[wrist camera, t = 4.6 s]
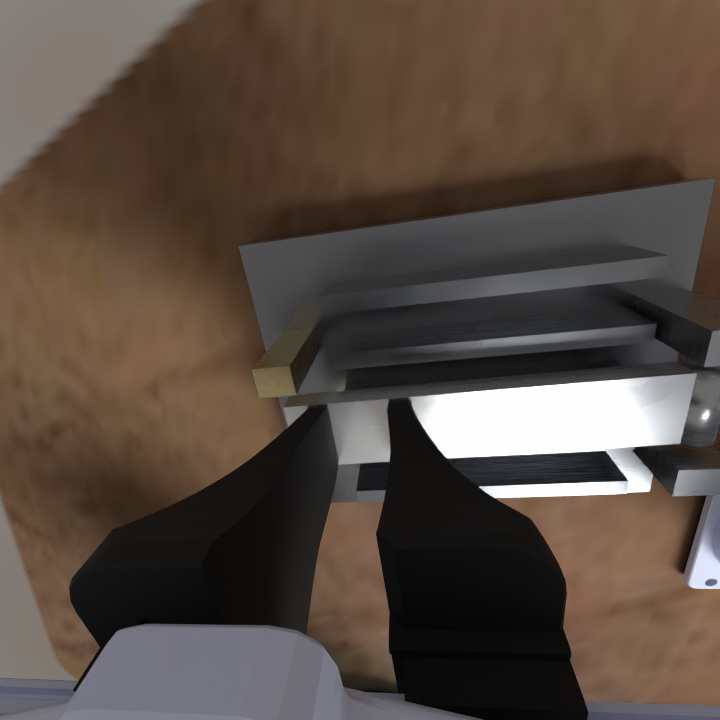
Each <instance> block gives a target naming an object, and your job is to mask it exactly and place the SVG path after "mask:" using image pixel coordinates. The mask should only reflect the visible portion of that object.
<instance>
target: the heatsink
mask: <svg viewBox="0 0 720 720" xmlns="http://www.w3.org/2000/svg"><path fill="white" fill-rule="evenodd" d="M715 179H716V178H703V179H684V180H677V181H671V182H664V183H657V184H650V185H643V186H636V187H629V188H622V189H615V190H608V191H601V192H594V193H587V194H580V195H573V196H566V197H559V198H552V199H545V200H538V201H531V202H524V203H518V204H511V205H504V206H497V207H490V208H483V209H476V210H469V211H462V212H455V213H448V214H441V215H434V216H427V217H420V218H413V219H406V220H399V221H392V222H385V223H378V224H372V225H365V226H358V227H351V228H344V229H337V230H330V231H323V232H316V233H309V234H302V235H295V236H288V237H281V238H274V239H267V240H260V241H253V242H249V243H246V244H243V245H240V246H238V247H239V251H240V255H241V259H242V262H243V266H244V270H245V274H246V278H247V281H248V285H249V289H250V293H251V297H252V301H253V304H254V308H255V312H256V316H257V320H258V323H259V327H260V331H261V335H262V339H263V342H264V346H265V350H266V353H265V354H264V355H263V356H262V357H261V359H260V360H259V361H258V362H257V363H256V365H255V366H254V367H253V368H252V369H251V370H252V373H253V377H254V380H255V384H256V387H257V391H258V394H259V398H268V397H278V400H279V403H280V407H281V411H282V415H283V419H284V423H285V426H286V429H287V428H288V424H287V420H286V416H285V412H284V408H283V407H284V405H285V403H286V401H287V399H288V397H289V396H294V395H298V394H309V393H321V392H332V391H344V390H355V389H367V388H378V387H390V386H401V385H413V384H424V383H435V382H447V381H458V380H470V379H481V378H493V377H504V376H516V375H527V374H539V373H550V372H562V371H573V370H585V369H596V368H607V367H619V366H630V365H642V364H653V363H665V362H676V361H677V360H678V355H679V353H681V354H682V355H684V356H686V357H688V358H689V359H691V360H693V361H694V362H696V363H698V364H699V365H701V366H703V367H712V366H720V301H718V300H716V299H713V298H710V297H707V296H704V295H701V294H699V293H696V292H693V291H692V288H693V283H694V279H695V274H696V269H697V264H698V260H699V255H700V250H701V245H702V241H703V236H704V231H705V226H706V222H707V217H708V212H709V207H710V203H711V198H712V193H713V188H714V184H715ZM447 459H448V460H449V461H450V462H451V463H452V464H453V465H454V466H455V467H456V468H457V469H458V470H459V471H460V472H461V473H462V474H463V475H465V476H466V477H467V478H468V479H469V480H471V481H472V482H473V483H474V484H476V485H477V486H478V487H480V488H481V489H482V490H483V491H485V492H486V493H488V494H489V495H491V496H492V497H494V498H514V497H544V496H574V495H604V494H627V492H650V488H651V483H652V479H653V475H654V476H655V477H656V478H657V479H658V481H659V482H660V483H661V484H662V485H663V486H664V487H665V488H666V490H667V491H668V492H669V493H670V494H671V495H672V496H702V495H720V451H719V450H718V449H716V448H715V447H714V446H713V445H711V446H707V447H694V446H688V445H684V444H681V443H680V444H671V445H654V446H638V447H621V448H605V449H588V450H572V451H555V452H539V453H523V454H506V455H490V456H473V457H457V458H447ZM388 471H389V462H375V463H358V464H342V465H338V471H337V478H336V484H335V488H334V492H333V496H332V500H331V502H358V503H363V502H384V497H385V492H386V486H387V478H388Z"/></svg>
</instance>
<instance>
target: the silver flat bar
mask: <svg viewBox="0 0 720 720" xmlns="http://www.w3.org/2000/svg"><path fill="white" fill-rule="evenodd" d="M403 400H409V401H410V402H411V403H412V406H413V409H414V412H415V414H416V416H417V418H418V420H419V421H420V423H421V425H422V426H423V428H424V429H425V431H426V432H427V434H428V435H429V437H430V438H431V440H432V441H433V442H434V444H435V445H436V446H437V447H438V449H439V450H440V451H441V452H442V453H443V454H444V456H445V457H446V458H457V457H473V456H490V455H506V454H523V453H539V452H555V451H572V450H588V449H605V448H621V447H638V446H654V445H671V444H680V443H681V444H684V445H688V446H694V447H707V446H711V445H713V444H714V443H715V440H716V436H717V432H718V429H719V425H720V366H712V367H703V366H701V365H699V364H698V363H696V362H694V361H693V360H691V359H689V358H684V359H681V360H680V361H679V362H678V361H676V362H665V363H653V364H642V365H630V366H619V367H607V368H596V369H585V370H573V371H562V372H550V373H539V374H527V375H516V376H504V377H493V378H481V379H470V380H458V381H447V382H435V383H424V384H413V385H401V386H390V387H378V388H367V389H355V390H344V391H332V392H321V393H309V394H298V395H294V396H289V397H288V399H287V401H286V403H285V405H284V407H283V408H284V412H285V416H286V420H287V424H288V427H289V426H290V425H291V424H292V423H293V422H294V421H295V420H296V419H297V418H298V417H300V416H301V415H302V414H303V413H304V412H305V411H306V410H307V409H308V408H314V407H327V406H328V411H329V416H330V421H331V425H332V430H333V435H334V440H335V445H336V450H337V455H338V460H339V462H338V465H342V464H358V463H375V462H389V461H390V436H389V426H388V415H387V407H388V402H391V401H403Z"/></svg>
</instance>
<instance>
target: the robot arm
mask: <svg viewBox="0 0 720 720" xmlns="http://www.w3.org/2000/svg"><path fill="white" fill-rule="evenodd" d="M387 415H388V426H389V436H390V461H389V471H388V478H387V486H386V492H385V497H384V503H383V508H382V513H381V517H380V521H379V525H378V529H377V532H376V536H377V542H378V548H379V554H380V559H381V565H382V571H383V577H384V583H385V588H386V594H387V600H388V606H389V612H390V617H389V652H390V654H392V660H393V665H394V671H395V676H396V682H397V687H398V693H399V694H398V693H373V692H363V691H359V690H354V689H350V688H345V687H343V684H342V680H341V677H340V673H339V670H338V667H337V665H336V664H335V662H334V661H333V659H332V658H331V657H330V655H329V654H328V652H327V651H326V650H325V648H324V647H323V646H322V644H321V643H319V642H318V641H316V640H314V639H312V638H310V637H308V636H307V635H306V632H307V623H308V616H309V608H310V601H311V594H312V587H313V580H314V574H315V567H316V561H317V555H318V550H319V546H320V541H321V538H322V534H323V530H324V526H325V522H326V519H327V515H328V511H329V507H330V504H331V500H332V496H333V492H334V488H335V484H336V478H337V471H338V462H339V460H338V455H337V450H336V445H335V440H334V435H333V430H332V425H331V421H330V416H329V411H328V406H327V407H314V408H308V409H307V410H306V411H305V412H304V413H303V414H302V415H301V416H300V417H298V418H297V419H296V420H295V421H294V422H293V423H292V424H291V425H290V426H289V427H288V428H287V429H286V430H284V431H283V432H282V433H281V434H280V435H279V436H278V437H277V438H276V439H274V440H273V441H272V442H271V443H270V444H268V445H267V446H266V447H265V448H264V449H262V450H261V451H260V452H259V453H257V454H256V455H255V456H254V457H252V458H251V459H250V460H248V461H247V462H246V463H244V464H243V465H241V466H240V467H238V468H237V469H236V470H234V471H233V472H231V473H230V474H228V475H227V476H225V477H223V478H222V479H220V480H218V481H216V482H215V483H213V484H211V485H210V486H208V487H206V488H204V489H203V490H201V491H199V492H197V493H196V494H194V495H192V496H190V497H188V498H186V499H184V500H182V501H180V502H178V503H176V504H173V505H171V506H169V507H167V508H165V509H163V510H161V511H158V512H156V513H154V514H151V515H149V516H146V517H144V518H141V519H139V520H136V521H134V522H131V523H129V524H126V525H124V526H121V527H118V528H116V529H113V530H112V531H111V532H110V533H109V535H108V536H107V537H106V538H105V539H104V541H103V542H102V543H101V544H100V545H99V547H98V548H97V549H96V550H95V551H94V553H93V554H92V555H91V556H90V557H89V558H88V560H87V561H86V562H85V563H84V564H83V566H82V567H81V568H80V569H79V570H78V572H77V573H76V574H75V575H74V576H73V578H72V580H71V583H70V586H69V591H70V599H71V603H72V605H73V607H74V609H75V611H76V613H77V614H78V616H79V617H80V618H81V620H82V621H83V623H84V624H85V626H86V627H87V629H88V630H89V632H90V633H91V635H92V636H93V637H94V639H95V640H96V642H97V643H98V645H99V646H100V649H99V650H98V652H97V653H96V655H95V656H94V658H93V660H92V661H91V663H90V664H89V666H88V667H87V669H86V670H85V672H84V673H83V675H82V676H81V678H80V679H79V681H66V680H65V681H64V680H41V679H15V678H0V720H720V706H704V705H679V704H653V703H628V702H602V701H584V698H583V695H582V692H581V690H580V687H579V684H578V681H577V679H576V676H575V673H574V670H573V667H572V665H571V662H570V659H569V658H571V650H570V646H569V643H568V641H567V638H566V635H565V633H564V630H563V622H564V613H565V605H566V596H567V591H566V581H565V578H564V576H563V573H562V571H561V568H560V566H559V564H558V562H557V560H556V558H555V556H554V555H553V553H552V551H551V549H550V548H549V546H548V544H547V543H546V541H545V539H544V538H543V536H542V535H541V533H540V532H539V530H538V529H537V527H536V526H535V524H534V523H533V521H532V520H531V519H530V518H528V517H527V516H525V515H523V514H521V513H519V512H518V511H516V510H514V509H512V508H510V507H509V506H507V505H505V504H503V503H501V502H500V501H498V500H497V499H495V498H494V497H492V496H491V495H489V494H488V493H486V492H485V491H483V490H482V489H481V488H480V487H478V486H477V485H476V484H474V483H473V482H472V481H471V480H469V479H468V478H467V477H466V476H465V475H463V474H462V473H461V472H460V471H459V470H458V469H457V468H456V467H455V466H454V465H453V464H452V463H451V462H450V461H449V460H448V459H447V458H446V457H445V456H444V454H443V453H442V452H441V451H440V450H439V449H438V447H437V446H436V445H435V444H434V442H433V441H432V440H431V438H430V437H429V435H428V434H427V432H426V431H425V429H424V428H423V426H422V425H421V423H420V421H419V420H418V418H417V416H416V414H415V412H414V409H413V406H412V403H411V402H410V401H409V400H403V401H391V402H388V407H387ZM683 578H684V580H685V581H686V583H687V584H688V585H689V586H690V587H692V588H696V589H720V495H707V496H706V500H705V503H704V506H703V510H702V513H701V517H700V520H699V524H698V527H697V531H696V534H695V538H694V541H693V545H692V548H691V551H690V555H689V558H688V562H687V565H686V569H685V572H684V576H683Z"/></svg>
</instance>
